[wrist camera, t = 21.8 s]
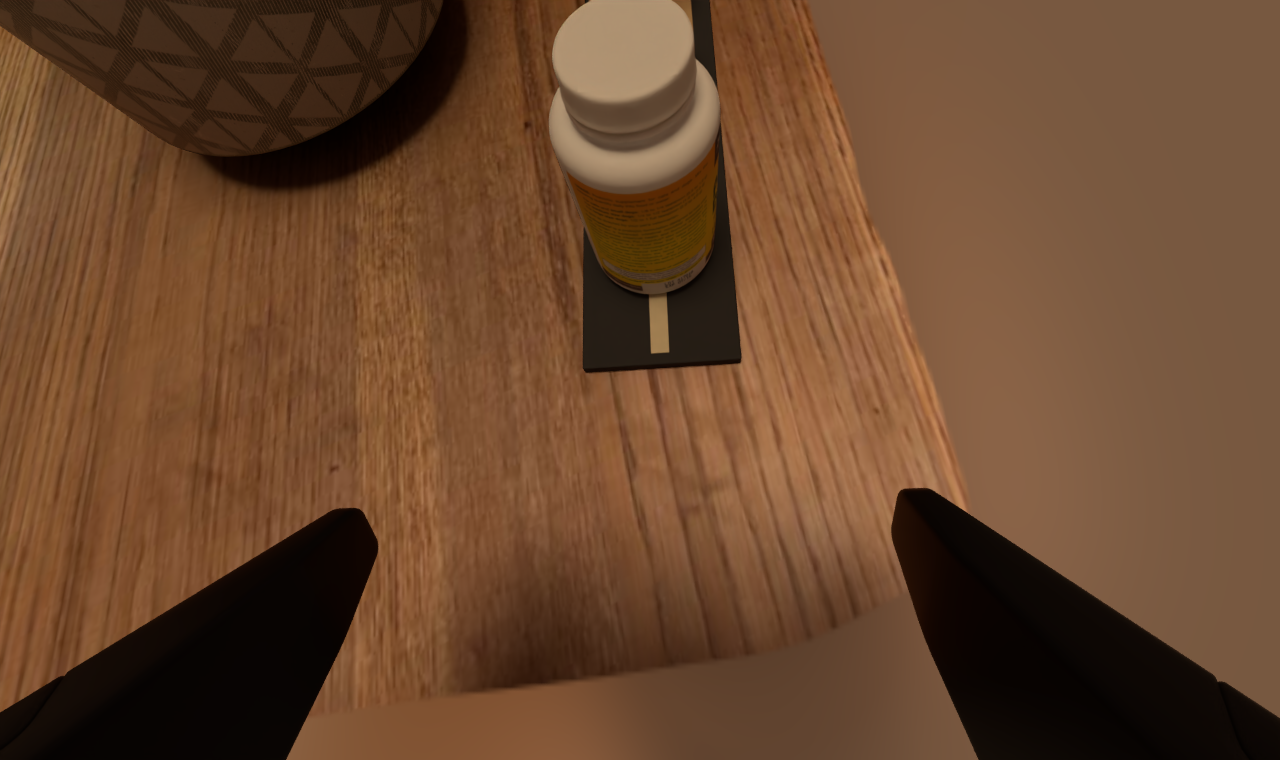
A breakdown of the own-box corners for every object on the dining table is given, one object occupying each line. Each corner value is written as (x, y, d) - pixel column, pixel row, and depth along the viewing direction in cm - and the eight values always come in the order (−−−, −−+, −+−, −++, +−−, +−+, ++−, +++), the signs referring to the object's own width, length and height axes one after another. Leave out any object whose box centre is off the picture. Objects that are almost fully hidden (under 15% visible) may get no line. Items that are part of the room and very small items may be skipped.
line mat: (740, 363, 22) (741, 358, 21) (585, 372, 22) (581, 368, 22) (704, -43, 29) (704, -56, 28) (587, -25, 29) (584, -38, 29)
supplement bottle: (734, 270, 22) (761, 73, 12) (621, 317, 22) (559, 158, 12) (685, 177, 24) (675, -62, 14) (580, 221, 24) (497, 14, 14)
